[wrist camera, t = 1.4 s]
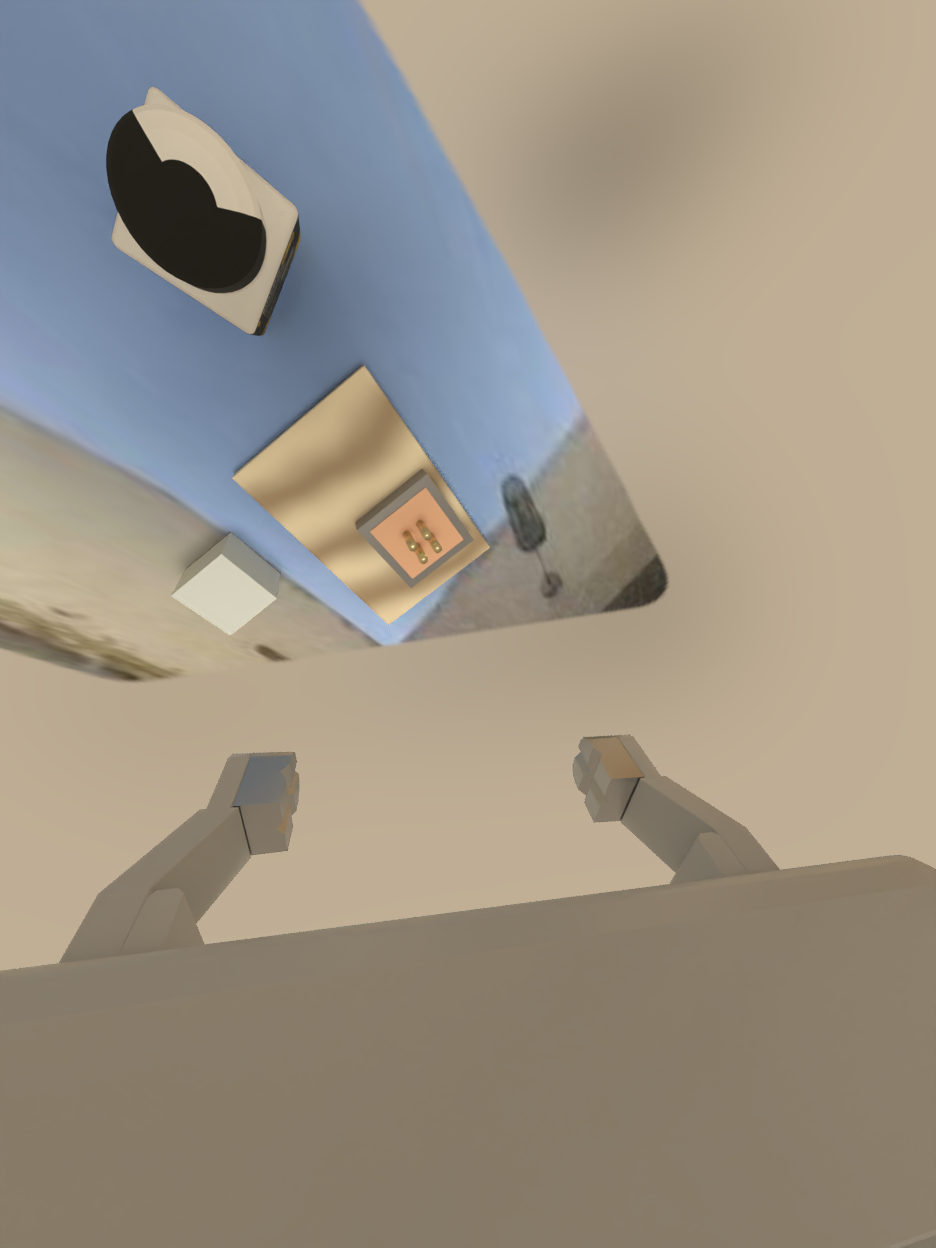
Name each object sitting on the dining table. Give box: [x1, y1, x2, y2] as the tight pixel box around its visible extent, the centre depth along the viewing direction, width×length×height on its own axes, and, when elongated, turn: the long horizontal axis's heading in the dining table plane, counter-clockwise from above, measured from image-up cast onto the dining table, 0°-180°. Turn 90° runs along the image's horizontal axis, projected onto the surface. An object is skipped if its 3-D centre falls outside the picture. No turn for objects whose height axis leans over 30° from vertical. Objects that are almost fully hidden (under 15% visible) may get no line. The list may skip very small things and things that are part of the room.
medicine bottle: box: [106, 87, 301, 336], centre depth 23 cm, size 7×7×12 cm
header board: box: [232, 365, 490, 625], centre depth 38 cm, size 20×14×7 cm
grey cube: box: [171, 532, 280, 636], centre depth 37 cm, size 6×6×5 cm
